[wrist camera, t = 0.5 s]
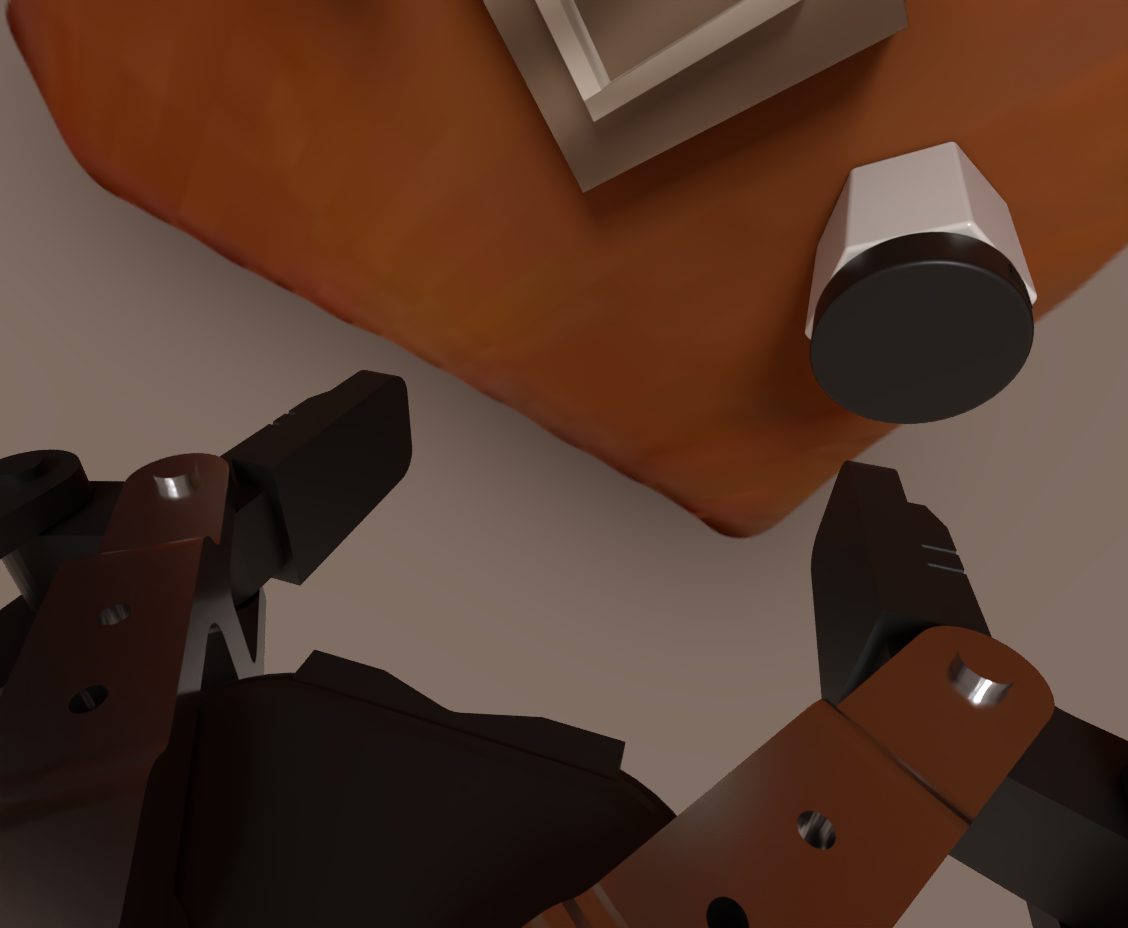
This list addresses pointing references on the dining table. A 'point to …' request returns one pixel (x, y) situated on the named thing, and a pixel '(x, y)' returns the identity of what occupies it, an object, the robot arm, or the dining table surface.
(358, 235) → the dining table surface
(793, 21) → the display plinth
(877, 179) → the jar
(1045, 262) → the dining table surface
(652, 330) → the dining table surface
